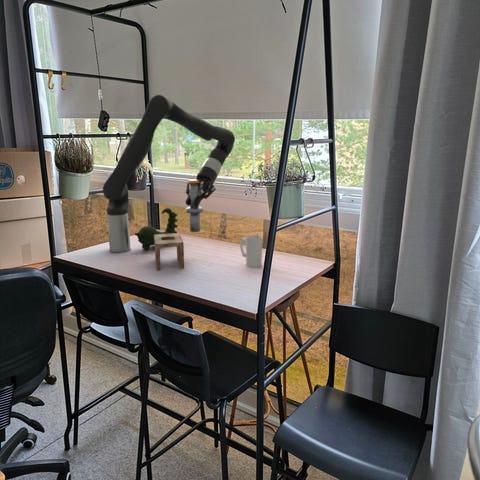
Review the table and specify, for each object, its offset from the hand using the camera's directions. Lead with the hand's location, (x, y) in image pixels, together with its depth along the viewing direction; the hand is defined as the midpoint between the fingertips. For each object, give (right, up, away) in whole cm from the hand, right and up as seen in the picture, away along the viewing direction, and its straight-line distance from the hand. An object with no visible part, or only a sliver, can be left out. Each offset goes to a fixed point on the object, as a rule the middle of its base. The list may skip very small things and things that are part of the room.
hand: (191, 204), depth 169 cm
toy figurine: (-20, -17, +36) cm, 45 cm away
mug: (+24, -24, +9) cm, 35 cm away
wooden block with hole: (-10, -24, +10) cm, 28 cm away
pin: (+1, -10, +4) cm, 11 cm away
